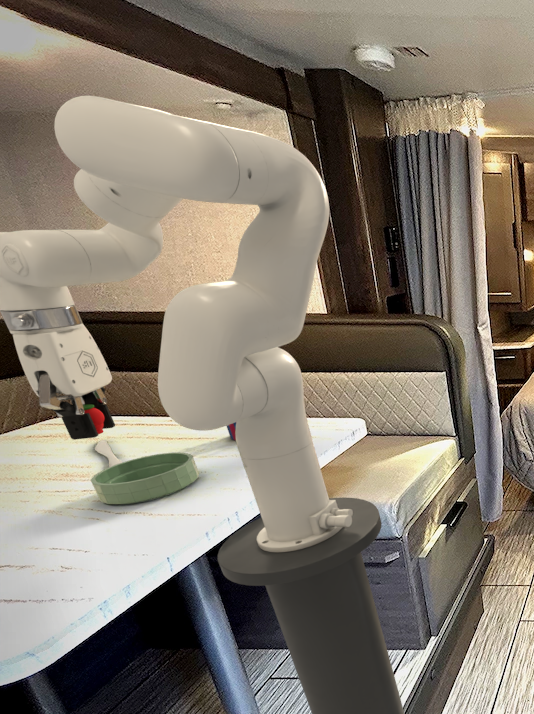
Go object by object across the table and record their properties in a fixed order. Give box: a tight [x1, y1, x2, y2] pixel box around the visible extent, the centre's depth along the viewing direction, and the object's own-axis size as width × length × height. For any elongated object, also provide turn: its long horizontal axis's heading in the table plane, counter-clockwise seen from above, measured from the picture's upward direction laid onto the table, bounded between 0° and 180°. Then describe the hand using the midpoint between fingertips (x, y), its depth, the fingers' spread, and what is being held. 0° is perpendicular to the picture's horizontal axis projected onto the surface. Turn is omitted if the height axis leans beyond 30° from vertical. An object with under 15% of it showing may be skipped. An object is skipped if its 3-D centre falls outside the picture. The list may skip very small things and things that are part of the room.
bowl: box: [90, 452, 200, 505], centre depth 96 cm, size 14×14×4 cm
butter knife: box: [94, 439, 124, 468], centre depth 112 cm, size 1×27×3 cm
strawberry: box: [83, 404, 104, 435], centre depth 81 cm, size 4×4×5 cm
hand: (94, 431), depth 82 cm, fingers closed on strawberry, 3 cm apart
